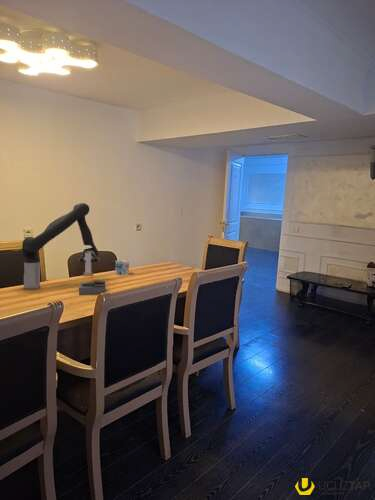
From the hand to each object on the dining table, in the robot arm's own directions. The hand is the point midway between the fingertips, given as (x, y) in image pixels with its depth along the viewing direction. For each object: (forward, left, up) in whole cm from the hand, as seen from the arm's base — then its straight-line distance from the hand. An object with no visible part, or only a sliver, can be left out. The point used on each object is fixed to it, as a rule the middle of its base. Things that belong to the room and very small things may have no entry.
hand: (88, 261), depth 218 cm
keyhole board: (+3, +3, -20) cm, 21 cm away
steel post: (0, +3, -10) cm, 10 cm away
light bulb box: (+24, +56, -21) cm, 64 cm away
